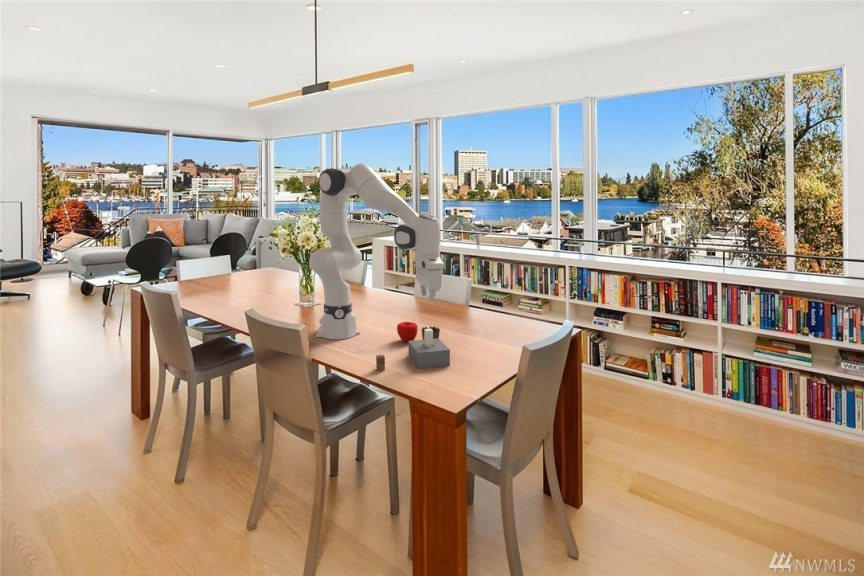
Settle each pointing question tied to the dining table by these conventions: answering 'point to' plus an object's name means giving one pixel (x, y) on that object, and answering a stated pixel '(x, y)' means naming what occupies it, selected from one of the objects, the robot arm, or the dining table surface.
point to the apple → (407, 331)
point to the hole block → (429, 354)
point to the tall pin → (428, 338)
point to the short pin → (380, 362)
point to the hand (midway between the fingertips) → (427, 298)
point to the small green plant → (435, 332)
